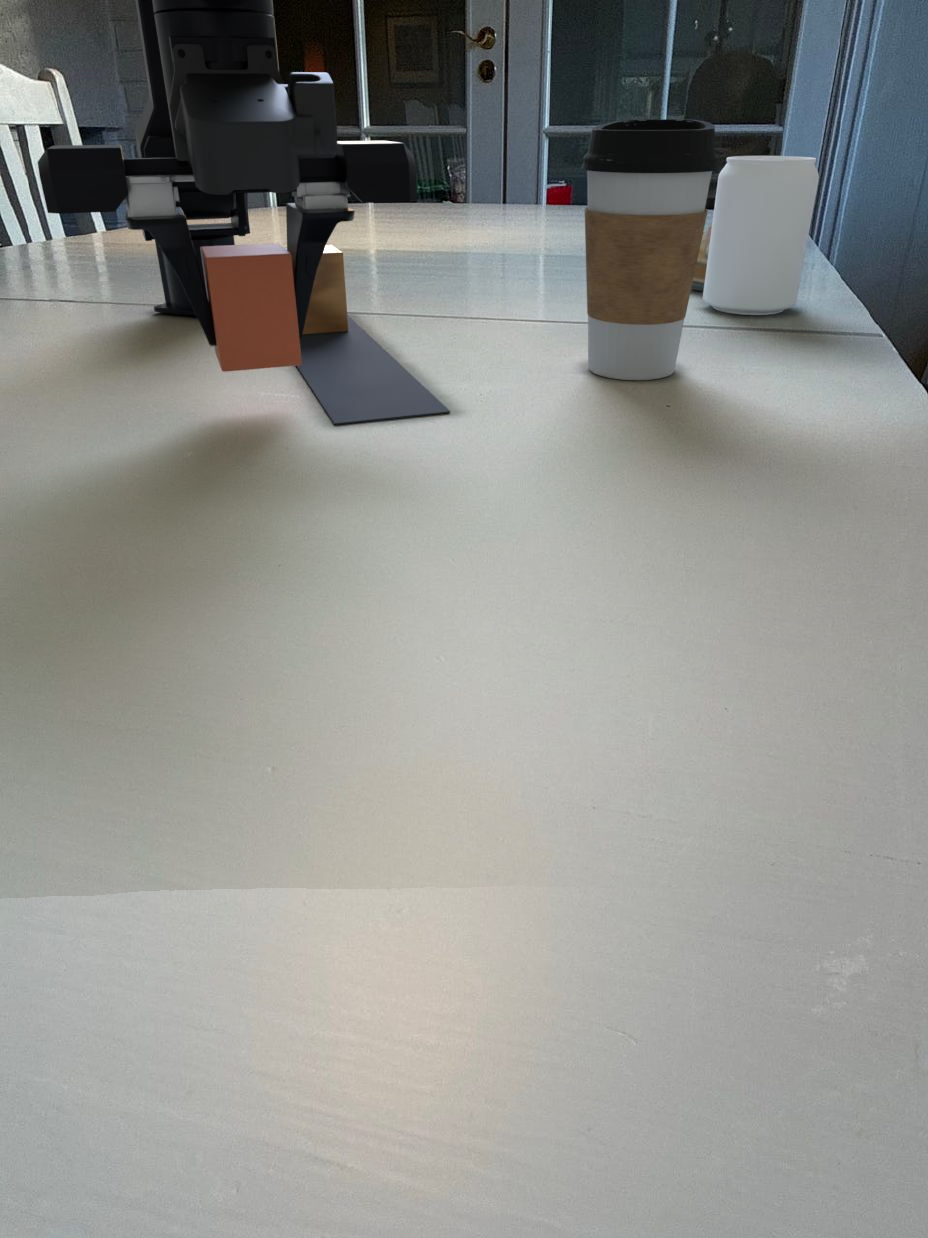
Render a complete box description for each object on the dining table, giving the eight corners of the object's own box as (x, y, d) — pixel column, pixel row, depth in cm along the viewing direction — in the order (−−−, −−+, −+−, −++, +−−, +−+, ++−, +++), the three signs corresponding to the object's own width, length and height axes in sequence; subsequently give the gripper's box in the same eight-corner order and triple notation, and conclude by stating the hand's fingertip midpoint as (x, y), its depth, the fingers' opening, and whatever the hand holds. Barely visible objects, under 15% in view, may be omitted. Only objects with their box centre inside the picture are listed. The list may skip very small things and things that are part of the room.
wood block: (293, 335, 69) (285, 254, 66) (285, 324, 73) (277, 247, 70) (348, 331, 70) (343, 251, 67) (337, 320, 74) (332, 244, 71)
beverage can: (800, 318, 74) (829, 160, 68) (703, 315, 76) (723, 159, 70) (789, 300, 81) (815, 155, 75) (700, 298, 82) (718, 155, 76)
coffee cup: (699, 359, 62) (730, 118, 55) (685, 390, 56) (718, 120, 48) (584, 350, 65) (599, 119, 57) (557, 379, 58) (569, 121, 50)
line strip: (450, 412, 52) (450, 411, 52) (334, 424, 50) (334, 423, 50) (347, 315, 76) (347, 314, 76) (267, 321, 74) (267, 320, 74)
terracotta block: (222, 372, 49) (205, 257, 46) (215, 353, 52) (199, 246, 49) (302, 365, 50) (291, 252, 47) (290, 347, 53) (279, 242, 50)
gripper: (-17, -9, 33) (77, 393, 41) (445, 4, 38) (449, 360, 46) (15, 16, 43) (86, 342, 51) (384, 24, 48) (397, 319, 56)
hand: (255, 341), depth 51 cm, fingers closed on terracotta block, 4 cm apart
